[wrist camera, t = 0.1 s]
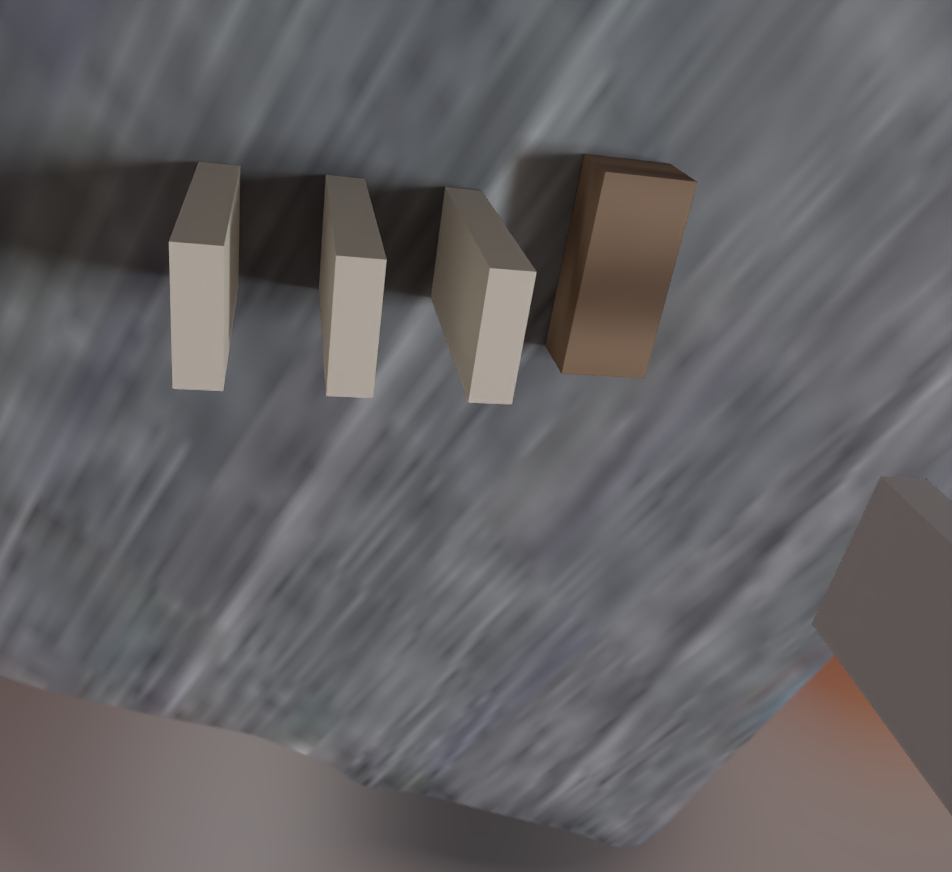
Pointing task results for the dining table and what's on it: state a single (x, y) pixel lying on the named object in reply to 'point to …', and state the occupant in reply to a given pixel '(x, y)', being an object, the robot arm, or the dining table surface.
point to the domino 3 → (481, 295)
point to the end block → (617, 265)
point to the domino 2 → (350, 287)
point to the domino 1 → (205, 277)
